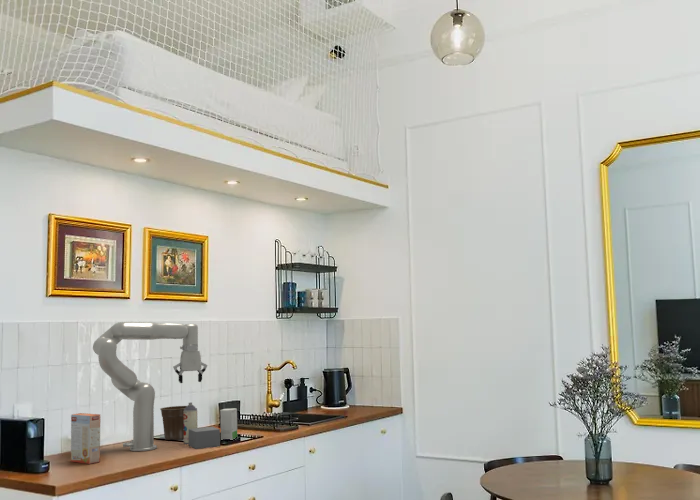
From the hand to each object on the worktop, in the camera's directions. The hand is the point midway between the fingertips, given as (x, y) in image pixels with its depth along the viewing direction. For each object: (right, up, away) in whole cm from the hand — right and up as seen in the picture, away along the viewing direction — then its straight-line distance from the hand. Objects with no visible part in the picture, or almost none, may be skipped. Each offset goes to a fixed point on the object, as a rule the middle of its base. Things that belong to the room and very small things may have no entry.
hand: (190, 382), depth 360 cm
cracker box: (-36, -27, -46) cm, 64 cm away
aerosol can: (+1, -30, -3) cm, 30 cm away
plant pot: (-11, -32, +13) cm, 36 cm away
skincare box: (+19, -30, +3) cm, 36 cm away
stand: (+10, -29, -13) cm, 33 cm away
